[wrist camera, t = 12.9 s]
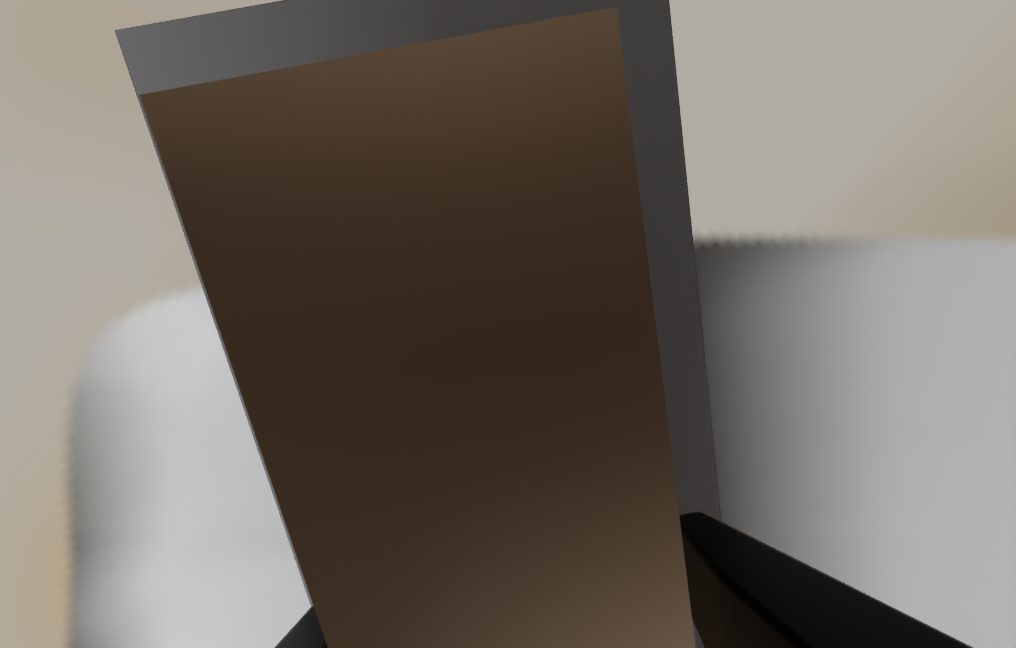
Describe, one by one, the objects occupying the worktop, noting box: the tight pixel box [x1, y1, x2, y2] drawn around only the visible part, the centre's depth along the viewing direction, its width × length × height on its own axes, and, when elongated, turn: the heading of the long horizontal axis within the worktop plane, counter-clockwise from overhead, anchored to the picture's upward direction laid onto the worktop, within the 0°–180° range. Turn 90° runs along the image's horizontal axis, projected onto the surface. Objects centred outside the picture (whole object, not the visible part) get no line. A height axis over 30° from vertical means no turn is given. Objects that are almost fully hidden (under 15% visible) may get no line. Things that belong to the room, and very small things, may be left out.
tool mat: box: [115, 0, 721, 648], centre depth 11 cm, size 8×22×1 cm, turn 11°
